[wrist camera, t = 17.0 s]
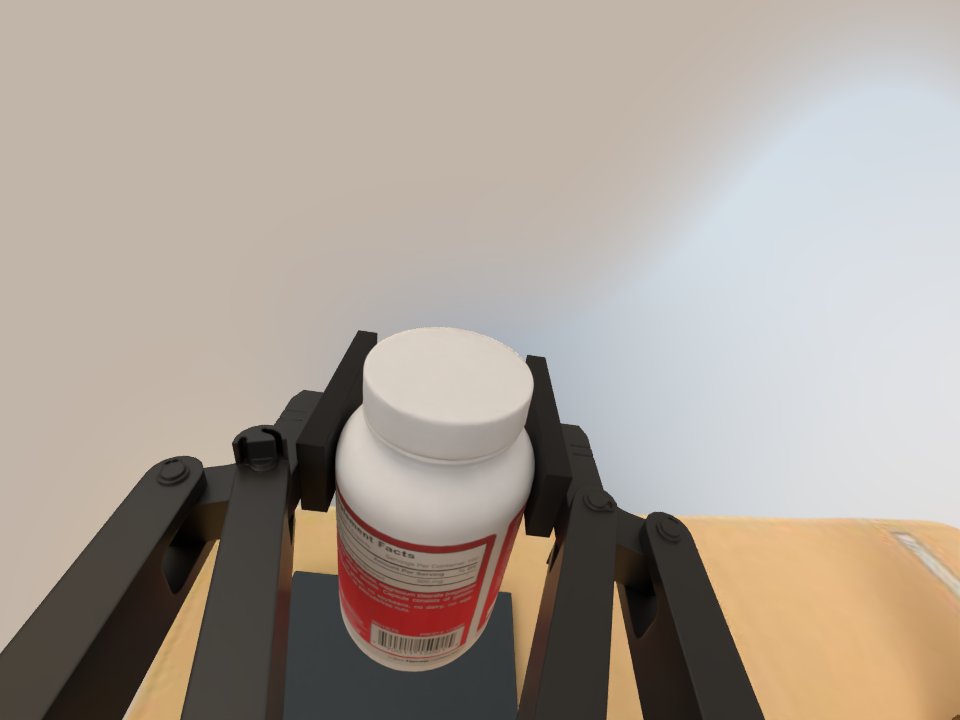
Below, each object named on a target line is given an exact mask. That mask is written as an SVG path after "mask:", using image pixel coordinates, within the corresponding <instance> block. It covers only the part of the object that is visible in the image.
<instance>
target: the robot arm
mask: <svg viewBox="0 0 960 720" xmlns="http://www.w3.org/2000/svg"><path fill="white" fill-rule="evenodd" d="M376 345H377V333H373V332H367V331H358V332H357V334H356V336H355V337H354V339H353V341H352V343H351V345H350V347H349V348H348V350H347V352H346V354H345V355H344V357H343V359H342V361H341V362H340V364H339V366H338V368H337V370H336V371H335V373H334V375H333V377H332V379H331V380H330V382H329V384H328V386H327V387H326V389H325V391H324V393H323V392H315V391H307V390H303V391H302V392H300V393H299V394H297V395H296V396H294V397H293V398H292V399H291V400H290V402H289V403H288V405H287V406H286V408H285V410H284V411H283V412H282V414H281V416H280V418H279V419H278V420H277V421H276V423H275V424H274V426H273V425H259V426H254V427H251V428H248V429H246V430H244V431H242V432H241V433H240V434H238V435H237V436H236V437H235V439H234V441H233V443H232V446H233V451H234V455H235V461H236V463H235V464H230V465H224V466H216V467H207V468H203V465H202V462H201V461H199V460H198V459H197V458H194V457H190V456H178V457H173V458H169V459H166V460H164V461H161V462H160V463H158V464H156V465H154V466H153V467H152V468H151V469H150V470H148V471H147V472H146V473H145V475H144V476H143V477H142V478H141V480H140V481H139V482H138V483H137V485H136V486H135V487H134V488H133V490H132V491H131V492H130V493H129V495H128V496H127V497H126V498H125V499H124V501H123V502H122V503H121V504H120V506H119V507H118V508H117V509H116V511H115V512H114V513H113V515H112V516H111V517H110V518H109V519H108V521H107V522H106V523H105V524H104V526H103V527H102V528H101V529H100V531H99V532H98V533H97V534H96V536H95V537H94V538H93V539H92V540H91V542H90V543H89V544H88V545H87V547H86V548H85V549H84V551H83V552H82V553H81V554H80V555H79V557H78V558H77V559H76V560H75V562H74V563H73V564H72V565H71V566H70V568H69V569H68V570H67V571H66V573H65V574H64V575H63V576H62V578H61V579H60V580H59V581H58V583H57V584H56V585H55V586H54V588H53V589H52V590H51V591H50V593H49V594H48V595H47V596H46V598H45V599H44V600H43V601H42V603H41V604H40V605H39V607H38V608H37V609H36V610H35V611H34V613H33V614H32V615H31V616H30V617H29V619H28V620H27V621H26V622H25V624H24V625H23V626H22V627H21V629H20V630H19V631H18V632H17V634H16V635H15V636H14V637H13V639H12V640H11V641H10V642H9V644H8V645H7V646H6V647H5V648H4V650H3V651H2V652H1V654H0V720H122V719H123V717H124V715H125V713H126V711H127V709H128V708H129V706H130V704H131V702H132V700H133V698H134V696H135V694H136V692H137V690H138V689H139V687H140V685H141V683H142V681H143V679H144V677H145V675H146V673H147V671H148V669H149V668H150V666H151V664H152V662H153V660H154V658H155V656H156V654H157V652H158V650H159V648H160V647H161V645H162V643H163V641H164V639H165V637H166V635H167V633H168V631H169V629H170V628H171V626H172V624H173V622H174V620H175V618H176V616H177V614H178V612H179V610H180V608H181V607H182V605H183V603H184V601H185V599H186V597H187V595H188V593H189V591H190V589H191V587H192V586H193V584H194V582H195V580H196V578H197V576H198V574H199V572H200V570H201V568H202V567H203V565H204V563H205V561H206V559H207V557H208V555H209V553H210V551H211V549H212V547H213V546H214V544H215V542H216V540H219V539H220V542H219V547H218V551H217V556H216V560H215V565H214V569H213V574H212V578H211V583H210V588H209V592H208V597H207V601H206V606H205V610H204V615H203V619H202V624H201V628H200V633H199V637H198V642H197V646H196V651H195V655H194V660H193V665H192V669H191V674H190V678H189V683H188V687H187V692H186V696H185V701H184V705H183V710H182V714H181V719H180V720H283V713H284V697H285V681H286V665H287V649H288V633H289V616H290V600H291V584H292V568H293V552H294V536H295V509H296V507H297V505H298V503H299V500H300V498H301V508H302V510H311V511H319V512H327V511H328V508H329V506H330V503H331V501H332V498H333V496H334V493H335V490H336V487H335V456H336V448H337V443H338V440H339V437H340V434H341V432H342V430H343V428H344V426H345V424H346V422H347V421H348V419H349V418H350V417H351V415H352V414H353V413H354V412H355V411H356V410H357V409H358V408H359V407H360V406H361V405H362V404H363V369H364V363H365V360H366V358H367V355H368V354H369V352H370V351H371V350H372V349H373V348H374V346H376ZM525 363H526V364H527V365H528V367H529V369H530V371H531V374H532V376H533V383H534V388H533V394H532V398H531V402H530V406H529V410H528V415H527V419H526V423H525V425H524V428H525V430H526V432H527V434H528V436H529V438H530V441H531V444H532V447H533V451H534V458H535V473H534V479H533V484H532V488H531V492H530V495H529V498H528V502H527V505H526V508H525V511H524V519H525V530H526V535H531V536H540V537H548V538H549V537H550V535H551V532H552V530H553V527H554V530H555V537H556V540H555V543H554V545H553V548H552V550H551V553H550V555H549V558H548V560H547V564H549V566H548V571H547V576H546V580H545V585H544V590H543V595H542V599H541V604H540V609H539V614H538V619H537V623H536V628H535V633H534V638H533V642H532V647H531V652H530V657H529V662H528V666H527V671H526V676H525V681H524V685H523V690H522V695H521V700H520V704H519V709H518V714H517V719H516V720H606V718H607V701H608V683H609V665H610V647H611V629H612V612H613V594H614V581H616V583H617V588H618V593H619V598H620V603H621V608H622V613H623V618H624V624H625V629H626V634H627V639H628V644H629V649H630V654H631V659H632V664H633V669H634V674H635V679H636V684H637V689H638V694H639V699H640V704H641V709H642V714H643V719H644V720H765V718H764V716H763V713H762V711H761V708H760V706H759V703H758V701H757V698H756V696H755V693H754V691H753V688H752V686H751V683H750V681H749V678H748V676H747V673H746V671H745V668H744V666H743V663H742V661H741V658H740V656H739V653H738V651H737V648H736V645H735V643H734V640H733V638H732V635H731V633H730V630H729V628H728V625H727V623H726V620H725V618H724V615H723V613H722V610H721V608H720V605H719V603H718V600H717V598H716V595H715V593H714V590H713V588H712V585H711V583H710V580H709V578H708V575H707V573H706V570H705V568H704V565H703V563H702V560H701V558H700V555H699V553H698V550H697V548H696V545H695V543H694V540H693V538H692V535H691V533H690V532H689V530H688V528H687V527H686V526H685V525H684V524H683V523H682V522H681V521H680V520H678V519H677V518H675V517H674V516H672V515H670V514H667V513H664V512H653V513H651V514H649V515H648V516H647V518H646V519H643V518H641V517H638V516H636V515H633V514H630V513H628V512H626V511H624V510H622V509H620V508H619V507H617V503H616V502H615V501H614V499H613V497H611V495H609V494H608V493H607V492H606V491H604V490H603V486H602V483H601V480H600V477H599V473H598V470H597V467H596V463H595V460H594V458H593V454H592V450H591V449H590V444H589V440H588V437H587V435H586V434H585V433H584V432H583V430H582V429H581V428H580V427H579V426H576V425H568V424H561V423H560V420H559V415H558V411H557V407H556V402H555V398H554V394H553V389H552V385H551V380H550V376H549V372H548V368H547V363H546V359H545V357H538V356H532V355H527V358H526V362H525Z"/></svg>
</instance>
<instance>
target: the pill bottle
mask: <svg viewBox="0 0 960 720" xmlns="http://www.w3.org/2000/svg"><path fill="white" fill-rule="evenodd" d="M533 388H534V383H533V376H532V374H531V371H530V369H529V367H528V365H527V364H526V363H525V362H524V360H523V359H522V358H521V357H520V356H519V355H518V354H517V353H516V352H515V351H514V350H512V349H510V348H509V347H508V346H506V345H505V344H503V343H501V342H499V341H497V340H495V339H492V338H490V337H488V336H485V335H482V334H479V333H475V332H472V331H467V330H463V329H456V328H448V327H426V328H418V329H411V330H407V331H403V332H400V333H397V334H394V335H392V336H389V337H387V338H386V339H384V340H382V341H381V342H379V343H378V344H377V345H376V346H374V348H373V349H372V350H371V351H370V352H369V354H368V355H367V358H366V360H365V363H364V369H363V404H362V405H361V406H360V407H359V408H358V409H357V410H356V411H355V412H354V413H353V414H352V415H351V417H350V418H349V419H348V421H347V422H346V424H345V426H344V428H343V430H342V432H341V434H340V437H339V440H338V443H337V448H336V456H335V487H336V520H337V548H338V577H339V597H340V607H341V612H342V617H343V620H344V623H345V626H346V628H347V630H348V632H349V634H350V636H351V637H352V639H353V640H354V642H355V643H356V645H357V646H358V647H359V648H360V649H361V650H362V651H363V652H364V653H365V654H366V655H368V656H369V657H370V658H371V659H373V660H375V661H376V662H378V663H380V664H382V665H384V666H386V667H389V668H392V669H395V670H401V671H413V672H416V671H426V670H431V669H435V668H438V667H441V666H444V665H446V664H448V663H450V662H452V661H454V660H455V659H457V658H458V657H459V656H461V655H462V654H463V653H465V652H466V651H467V650H468V649H469V648H470V647H471V646H472V645H473V644H474V643H475V642H476V641H477V639H478V638H479V637H480V635H481V634H482V632H483V630H484V628H485V627H486V625H487V622H488V620H489V618H490V615H491V613H492V610H493V607H494V604H495V601H496V598H497V594H498V591H499V588H500V585H501V582H502V579H503V576H504V573H505V569H506V566H507V563H508V560H509V557H510V554H511V551H512V548H513V544H514V541H515V538H516V535H517V532H518V529H519V526H520V523H521V520H522V517H523V514H524V511H525V508H526V505H527V502H528V498H529V495H530V492H531V488H532V484H533V479H534V473H535V458H534V451H533V447H532V444H531V441H530V438H529V436H528V434H527V432H526V430H525V428H524V425H525V423H526V419H527V415H528V410H529V406H530V402H531V398H532V394H533Z"/></svg>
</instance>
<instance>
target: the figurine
mask: <svg viewBox="0 0 960 720" xmlns="http://www.w3.org/2000/svg"><path fill="white" fill-rule="evenodd" d="M952 720H960V715H957V716H955V717H954V718H952Z"/></svg>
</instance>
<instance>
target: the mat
mask: <svg viewBox="0 0 960 720" xmlns="http://www.w3.org/2000/svg"><path fill="white" fill-rule="evenodd" d="M517 714H518V708H517V690H516V672H515V653H514V635H513V617H512V598H511V593H508V592H498V594H497V598H496V601H495V604H494V607H493V610H492V613H491V615H490V618H489V620H488V622H487V625H486V627H485V628H484V630H483V632H482V634H481V635H480V637H479V638H478V639H477V641H476V642H475V643H474V644H473V645H472V646H471V647H470V648H469V649H468V650H467V651H466V652H465V653H463V654H462V655H461V656H459V657H458V658H457V659H455V660H454V661H452V662H450V663H448V664H446V665H444V666H441V667H438V668H435V669H431V670H426V671H416V672H413V671H401V670H395V669H392V668H389V667H386V666H384V665H382V664H380V663H378V662H376V661H375V660H373V659H371V658H370V657H369V656H368V655H366V654H365V653H364V652H363V651H362V650H361V649H360V648H359V647H358V646H357V645H356V643H355V642H354V640H353V639H352V637H351V636H350V634H349V632H348V630H347V628H346V626H345V623H344V620H343V617H342V612H341V607H340V597H339V577H338V575H331V574H321V573H311V572H301V571H295V572H294V575H293V577H292V584H291V600H290V616H289V633H288V649H287V665H286V681H285V697H284V713H283V720H516V719H517Z"/></svg>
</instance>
